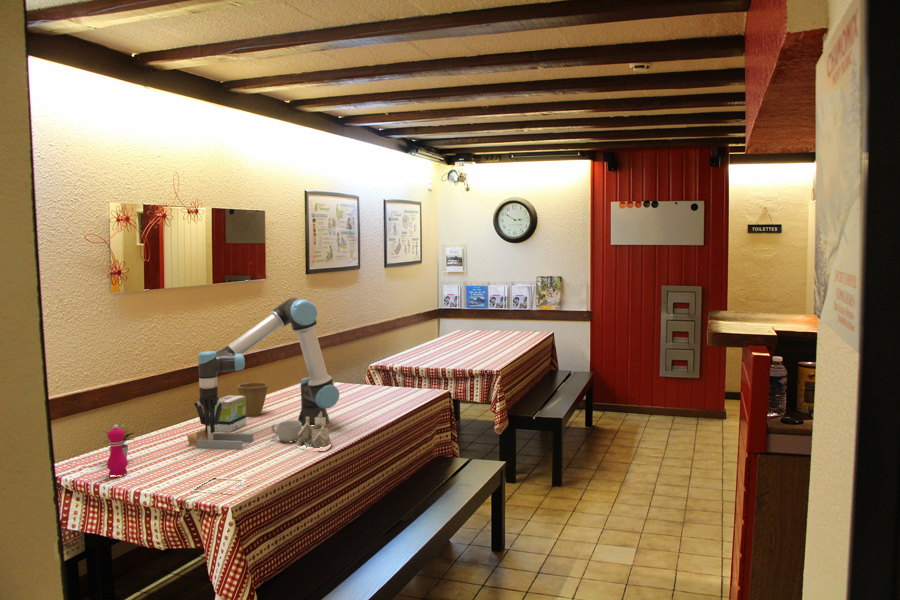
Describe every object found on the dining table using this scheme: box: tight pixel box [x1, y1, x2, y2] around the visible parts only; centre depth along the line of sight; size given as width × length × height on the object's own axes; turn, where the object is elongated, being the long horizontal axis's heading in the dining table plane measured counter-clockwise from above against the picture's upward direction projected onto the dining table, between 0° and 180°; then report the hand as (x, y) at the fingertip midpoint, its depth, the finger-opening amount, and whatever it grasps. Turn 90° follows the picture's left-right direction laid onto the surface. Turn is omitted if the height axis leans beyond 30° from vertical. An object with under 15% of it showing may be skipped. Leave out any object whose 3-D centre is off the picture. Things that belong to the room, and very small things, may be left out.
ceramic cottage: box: [295, 412, 333, 448], centre depth 298 cm, size 16×16×15 cm
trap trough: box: [196, 432, 255, 450], centre depth 299 cm, size 20×13×4 cm, turn 83°
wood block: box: [186, 427, 213, 447], centre depth 300 cm, size 6×6×8 cm
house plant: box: [100, 422, 139, 459], centre depth 278 cm, size 14×14×16 cm
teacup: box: [270, 420, 302, 443], centre depth 309 cm, size 14×11×8 cm
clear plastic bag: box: [190, 476, 247, 492], centre depth 249 cm, size 15×1×18 cm
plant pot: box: [237, 382, 268, 417], centre depth 357 cm, size 15×15×16 cm
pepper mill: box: [106, 423, 129, 476], centre depth 262 cm, size 7×7×20 cm
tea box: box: [215, 394, 247, 433], centre depth 332 cm, size 15×10×15 cm
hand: (210, 439), depth 299 cm, fingers closed
